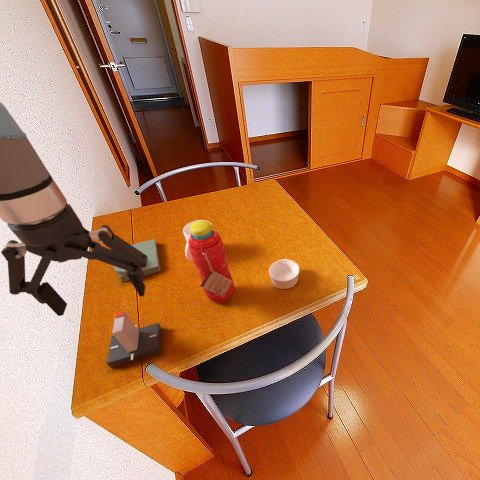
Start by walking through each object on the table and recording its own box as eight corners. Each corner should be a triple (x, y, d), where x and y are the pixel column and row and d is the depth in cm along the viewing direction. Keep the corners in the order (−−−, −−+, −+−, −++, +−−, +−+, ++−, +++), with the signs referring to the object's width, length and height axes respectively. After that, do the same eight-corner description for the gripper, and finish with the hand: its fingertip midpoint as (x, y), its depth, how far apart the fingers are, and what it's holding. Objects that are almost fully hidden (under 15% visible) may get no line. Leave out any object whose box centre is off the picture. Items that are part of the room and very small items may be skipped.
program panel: (110, 373, 60) (105, 367, 59) (116, 337, 67) (111, 331, 65) (161, 357, 63) (157, 351, 62) (162, 324, 70) (158, 318, 68)
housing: (160, 271, 83) (156, 262, 81) (119, 283, 79) (113, 274, 77) (157, 243, 93) (152, 234, 90) (120, 253, 89) (114, 244, 86)
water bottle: (239, 313, 73) (220, 242, 57) (207, 320, 71) (178, 249, 55) (235, 280, 82) (218, 210, 66) (207, 286, 80) (182, 215, 64)
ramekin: (271, 268, 86) (270, 258, 83) (300, 268, 86) (299, 258, 83) (268, 291, 79) (267, 281, 76) (299, 291, 80) (299, 281, 77)
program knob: (137, 349, 62) (121, 329, 57) (128, 352, 61) (111, 332, 56) (139, 331, 65) (124, 310, 60) (130, 333, 65) (115, 313, 60)
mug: (203, 272, 84) (194, 247, 77) (179, 266, 85) (168, 241, 78) (223, 246, 93) (216, 222, 86) (201, 242, 94) (193, 217, 87)
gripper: (135, 187, 48) (172, 272, 61) (-59, 213, 40) (33, 303, 54) (130, 210, 42) (172, 297, 56) (-95, 245, 35) (17, 335, 48)
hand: (104, 300), depth 55 cm, fingers open, 13 cm apart
